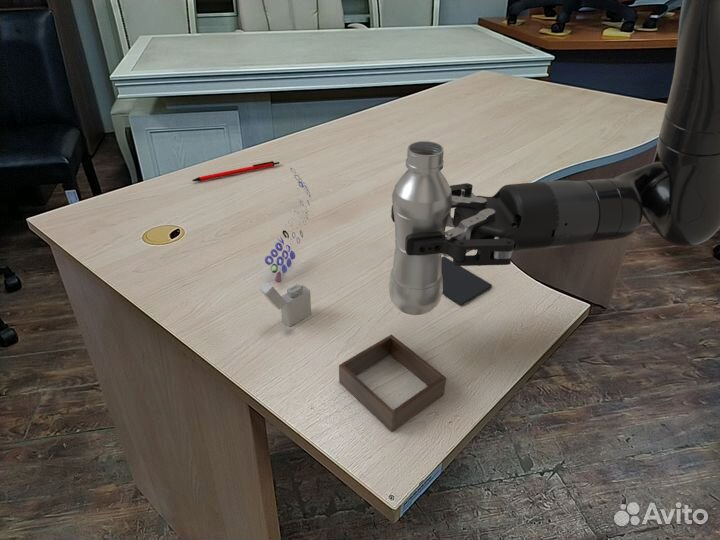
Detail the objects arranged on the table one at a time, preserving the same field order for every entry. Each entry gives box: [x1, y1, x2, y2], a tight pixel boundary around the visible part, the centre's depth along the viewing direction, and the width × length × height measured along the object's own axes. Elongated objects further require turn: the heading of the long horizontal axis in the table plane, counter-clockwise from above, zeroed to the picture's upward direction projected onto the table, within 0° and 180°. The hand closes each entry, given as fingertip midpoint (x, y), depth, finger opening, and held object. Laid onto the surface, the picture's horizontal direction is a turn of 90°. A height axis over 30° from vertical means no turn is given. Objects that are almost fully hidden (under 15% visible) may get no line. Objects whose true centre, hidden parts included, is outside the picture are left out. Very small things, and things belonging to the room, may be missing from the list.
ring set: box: [264, 167, 312, 283], centre depth 88 cm, size 25×12×12 cm, turn 168°
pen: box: [191, 160, 280, 182], centre depth 111 cm, size 1×19×1 cm, turn 118°
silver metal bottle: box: [387, 140, 453, 316], centre depth 58 cm, size 6×7×20 cm
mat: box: [441, 255, 493, 307], centre depth 82 cm, size 10×7×1 cm
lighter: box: [259, 281, 312, 328], centre depth 72 cm, size 7×2×8 cm, turn 133°
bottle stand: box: [338, 334, 447, 433], centre depth 64 cm, size 10×9×3 cm
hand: (399, 228), depth 57 cm, fingers closed on silver metal bottle, 6 cm apart
